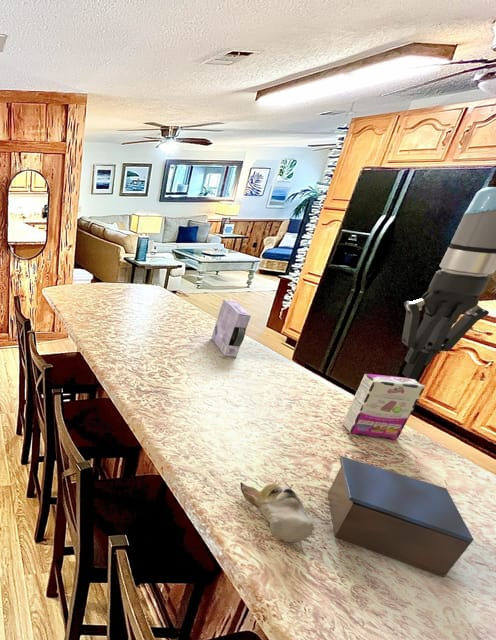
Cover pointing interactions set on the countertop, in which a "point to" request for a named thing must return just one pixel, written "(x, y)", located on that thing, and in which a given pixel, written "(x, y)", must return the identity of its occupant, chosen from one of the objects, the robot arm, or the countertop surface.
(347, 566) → the countertop surface
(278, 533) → the ceramic sculpture
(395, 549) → the chest
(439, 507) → the chest lid
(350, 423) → the candy bar box
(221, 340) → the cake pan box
